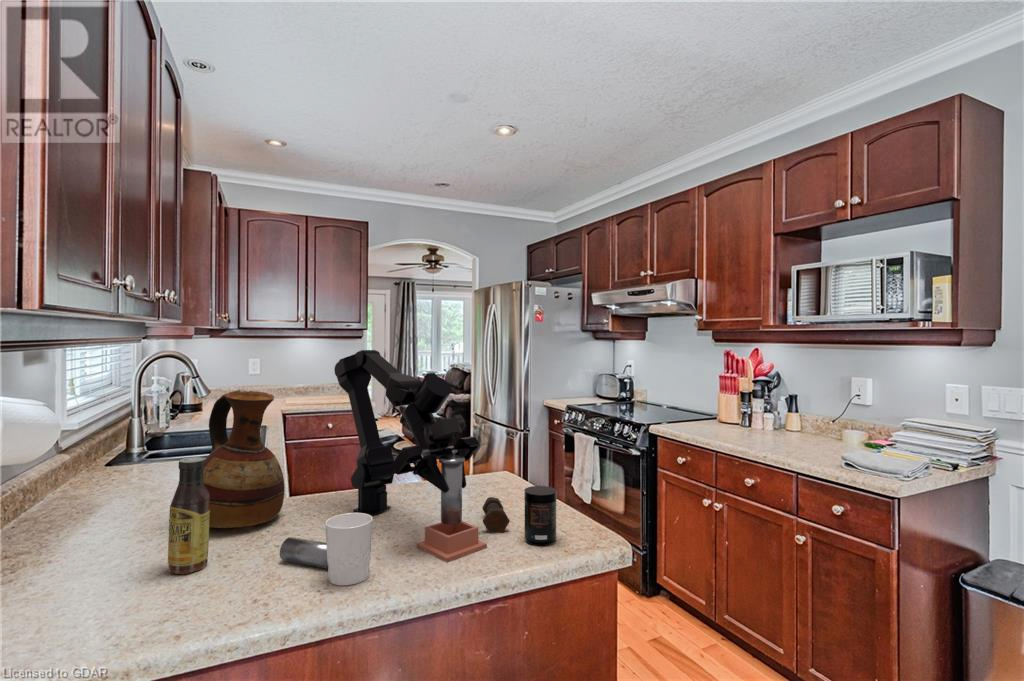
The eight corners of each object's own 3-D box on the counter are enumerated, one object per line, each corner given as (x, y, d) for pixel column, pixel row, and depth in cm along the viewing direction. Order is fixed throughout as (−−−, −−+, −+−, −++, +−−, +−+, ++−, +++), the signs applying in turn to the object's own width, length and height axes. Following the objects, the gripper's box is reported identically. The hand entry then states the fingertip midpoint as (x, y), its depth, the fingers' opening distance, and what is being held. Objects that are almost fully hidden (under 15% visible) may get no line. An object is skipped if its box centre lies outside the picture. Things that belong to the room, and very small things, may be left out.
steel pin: (434, 524, 101) (434, 460, 101) (443, 515, 106) (444, 454, 106) (459, 526, 100) (460, 461, 100) (467, 517, 105) (468, 455, 105)
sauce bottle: (159, 573, 91) (159, 461, 91) (192, 559, 97) (192, 454, 97) (185, 578, 89) (186, 464, 89) (217, 564, 95) (218, 456, 95)
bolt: (494, 518, 126) (499, 539, 111) (476, 508, 125) (479, 528, 111) (506, 497, 126) (513, 515, 111) (488, 487, 126) (492, 504, 111)
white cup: (326, 591, 85) (327, 530, 85) (323, 571, 92) (324, 516, 92) (375, 582, 88) (375, 524, 88) (369, 564, 95) (369, 510, 95)
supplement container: (553, 533, 111) (553, 485, 111) (559, 546, 104) (559, 494, 104) (522, 534, 110) (522, 486, 110) (526, 547, 103) (526, 495, 103)
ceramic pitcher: (235, 544, 104) (235, 396, 104) (163, 532, 111) (164, 393, 111) (303, 513, 123) (304, 388, 123) (238, 504, 129) (239, 386, 130)
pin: (297, 536, 100) (293, 559, 99) (282, 537, 96) (277, 561, 95) (350, 544, 96) (345, 569, 95) (336, 546, 92) (331, 571, 91)
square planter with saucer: (416, 547, 103) (416, 527, 103) (455, 534, 110) (455, 515, 110) (446, 562, 96) (446, 540, 96) (486, 547, 103) (486, 527, 103)
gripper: (401, 406, 99) (434, 474, 92) (474, 399, 112) (509, 458, 105) (379, 441, 105) (409, 508, 97) (452, 430, 118) (483, 488, 110)
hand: (455, 489), depth 102 cm, fingers closed on steel pin, 4 cm apart
